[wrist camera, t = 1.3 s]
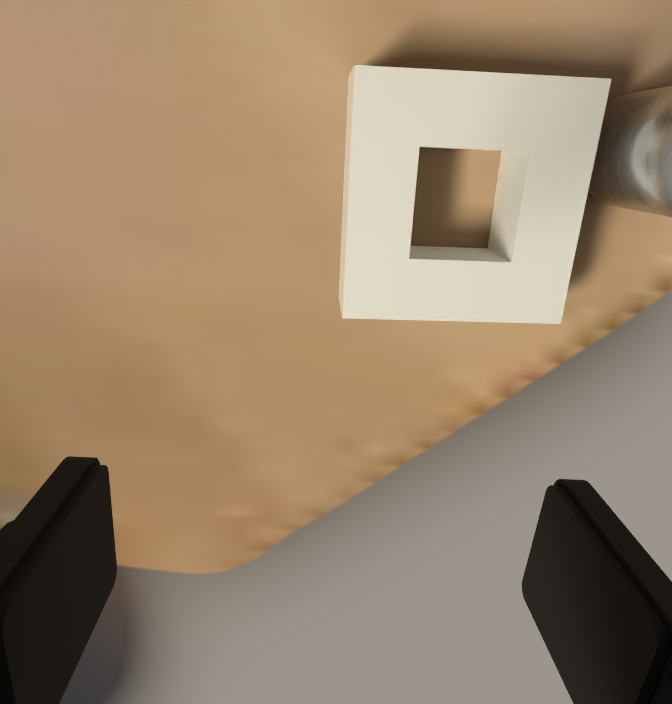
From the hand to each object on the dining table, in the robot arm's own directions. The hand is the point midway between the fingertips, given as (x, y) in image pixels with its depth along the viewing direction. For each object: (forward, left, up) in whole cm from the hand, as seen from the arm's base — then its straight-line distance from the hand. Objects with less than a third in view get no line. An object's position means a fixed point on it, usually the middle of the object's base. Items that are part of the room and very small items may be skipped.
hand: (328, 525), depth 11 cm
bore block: (-5, +7, -22) cm, 23 cm away
